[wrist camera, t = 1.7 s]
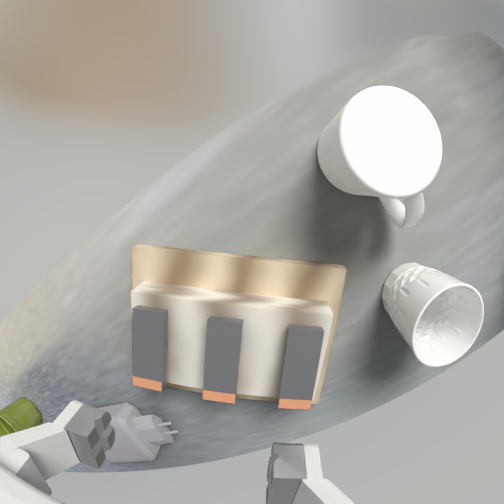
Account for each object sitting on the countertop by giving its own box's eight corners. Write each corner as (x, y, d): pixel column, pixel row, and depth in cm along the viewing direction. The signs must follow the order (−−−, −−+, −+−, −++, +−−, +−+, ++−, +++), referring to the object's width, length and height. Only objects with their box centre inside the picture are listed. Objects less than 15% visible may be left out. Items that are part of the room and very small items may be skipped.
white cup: (410, 333, 32) (447, 377, 22) (362, 303, 31) (394, 348, 22) (447, 278, 30) (496, 308, 20) (402, 243, 30) (450, 266, 20)
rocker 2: (243, 319, 27) (242, 324, 25) (236, 397, 27) (234, 404, 25) (210, 315, 27) (207, 319, 25) (205, 393, 27) (202, 400, 26)
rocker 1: (167, 309, 27) (162, 313, 25) (166, 385, 27) (161, 392, 26) (138, 305, 27) (131, 308, 26) (138, 380, 27) (133, 385, 26)
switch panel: (343, 265, 31) (357, 281, 25) (316, 396, 34) (321, 426, 29) (137, 244, 32) (112, 255, 26) (143, 374, 35) (126, 400, 30)
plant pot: (11, 381, 39) (-15, 403, 30) (47, 407, 39) (22, 434, 31) (16, 410, 41) (-6, 432, 32) (51, 435, 41) (30, 460, 33)
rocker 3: (321, 326, 26) (324, 331, 25) (308, 402, 27) (310, 410, 25) (288, 324, 26) (289, 328, 25) (277, 401, 27) (278, 408, 25)
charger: (196, 437, 37) (122, 447, 39) (161, 391, 36) (89, 407, 38) (189, 459, 33) (112, 465, 35) (150, 413, 31) (76, 424, 33)
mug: (404, 69, 17) (477, 209, 19) (366, 102, 27) (421, 201, 29) (315, 115, 18) (400, 265, 20) (300, 139, 28) (361, 241, 30)
